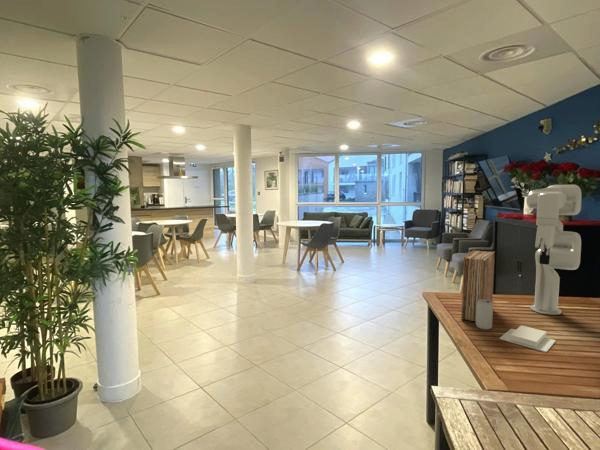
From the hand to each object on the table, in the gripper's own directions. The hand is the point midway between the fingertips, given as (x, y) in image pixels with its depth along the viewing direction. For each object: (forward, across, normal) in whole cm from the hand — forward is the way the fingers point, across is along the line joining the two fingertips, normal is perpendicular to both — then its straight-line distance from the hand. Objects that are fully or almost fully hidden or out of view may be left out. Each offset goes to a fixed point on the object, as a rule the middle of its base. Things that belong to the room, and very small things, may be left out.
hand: (544, 263), depth 149 cm
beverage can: (+28, +19, -17) cm, 38 cm away
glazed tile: (+27, +12, 0) cm, 29 cm away
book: (+29, +4, -25) cm, 38 cm away
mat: (+28, +19, 0) cm, 34 cm away
